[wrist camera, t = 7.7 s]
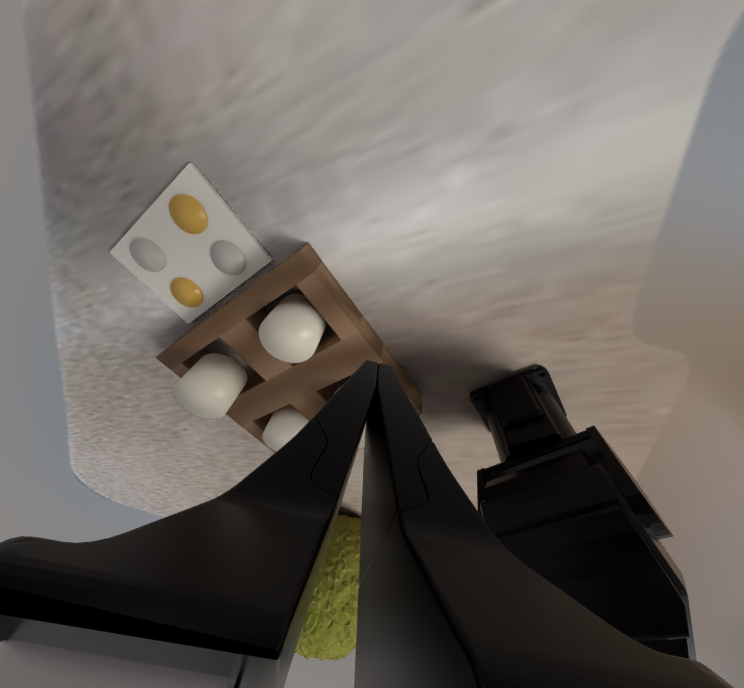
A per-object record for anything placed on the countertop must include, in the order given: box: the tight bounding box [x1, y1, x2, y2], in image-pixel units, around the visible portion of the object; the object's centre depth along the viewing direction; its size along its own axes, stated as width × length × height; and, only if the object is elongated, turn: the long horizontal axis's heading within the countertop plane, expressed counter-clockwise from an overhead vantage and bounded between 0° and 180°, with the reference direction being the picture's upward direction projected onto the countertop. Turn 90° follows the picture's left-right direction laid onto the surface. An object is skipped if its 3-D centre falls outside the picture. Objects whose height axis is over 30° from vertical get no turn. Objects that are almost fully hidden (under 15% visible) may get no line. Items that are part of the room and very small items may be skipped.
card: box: [109, 163, 273, 324], centre depth 20 cm, size 7×10×1 cm
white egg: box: [259, 294, 327, 363], centre depth 21 cm, size 4×4×3 cm
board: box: [156, 243, 422, 453], centre depth 24 cm, size 16×16×2 cm
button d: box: [172, 353, 247, 419], centre depth 22 cm, size 4×4×3 cm
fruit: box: [295, 515, 361, 660], centre depth 36 cm, size 16×14×15 cm
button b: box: [262, 404, 309, 452], centre depth 27 cm, size 4×4×3 cm
